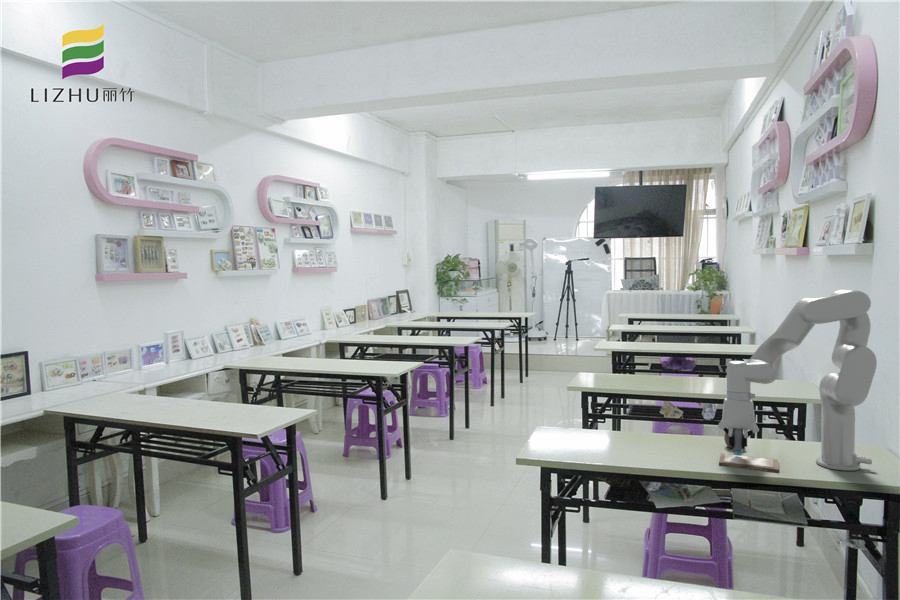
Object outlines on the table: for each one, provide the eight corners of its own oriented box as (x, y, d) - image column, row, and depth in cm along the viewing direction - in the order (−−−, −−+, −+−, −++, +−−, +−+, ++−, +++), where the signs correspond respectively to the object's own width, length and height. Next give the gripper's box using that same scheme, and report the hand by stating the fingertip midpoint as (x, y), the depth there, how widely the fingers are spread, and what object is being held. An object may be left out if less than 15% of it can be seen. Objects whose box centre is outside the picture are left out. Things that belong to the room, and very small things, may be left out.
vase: (740, 444, 224) (740, 422, 223) (747, 450, 217) (747, 426, 217) (721, 444, 224) (721, 422, 224) (728, 449, 218) (728, 426, 217)
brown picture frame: (777, 462, 202) (777, 459, 202) (778, 472, 191) (778, 468, 191) (720, 455, 210) (720, 452, 210) (718, 465, 200) (718, 461, 199)
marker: (742, 453, 205) (743, 420, 205) (742, 456, 203) (742, 422, 202) (733, 452, 207) (733, 419, 206) (733, 455, 204) (733, 421, 204)
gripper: (764, 396, 204) (764, 447, 204) (713, 392, 211) (713, 442, 212) (764, 400, 197) (764, 453, 198) (712, 396, 205) (712, 447, 205)
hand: (738, 447), depth 205 cm, fingers closed on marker, 3 cm apart
